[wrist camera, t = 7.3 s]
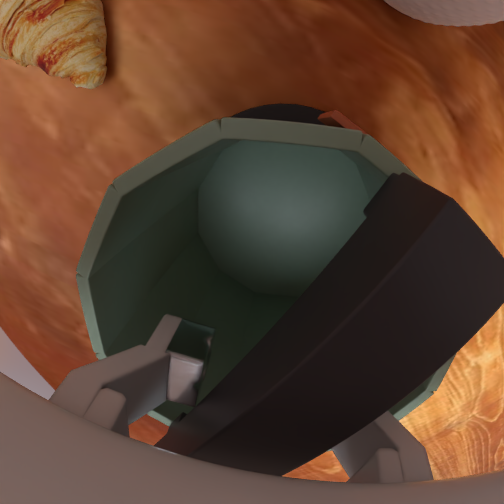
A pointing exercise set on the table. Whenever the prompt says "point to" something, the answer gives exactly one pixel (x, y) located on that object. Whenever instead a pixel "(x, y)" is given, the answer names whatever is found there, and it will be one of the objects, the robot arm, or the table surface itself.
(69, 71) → the croissant
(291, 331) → the bin
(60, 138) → the table surface
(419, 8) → the mug
